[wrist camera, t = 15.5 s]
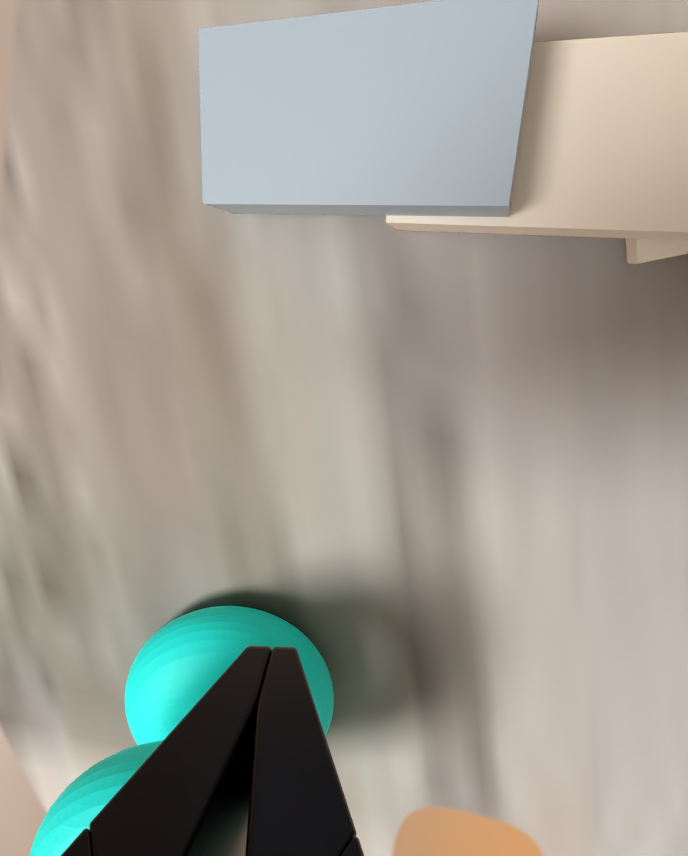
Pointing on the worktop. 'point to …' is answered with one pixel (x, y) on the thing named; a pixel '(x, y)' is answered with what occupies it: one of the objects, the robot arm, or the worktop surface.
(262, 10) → the worktop surface
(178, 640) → the turquoise lobed shape
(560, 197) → the ivory domino
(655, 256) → the ivory domino
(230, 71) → the domino
